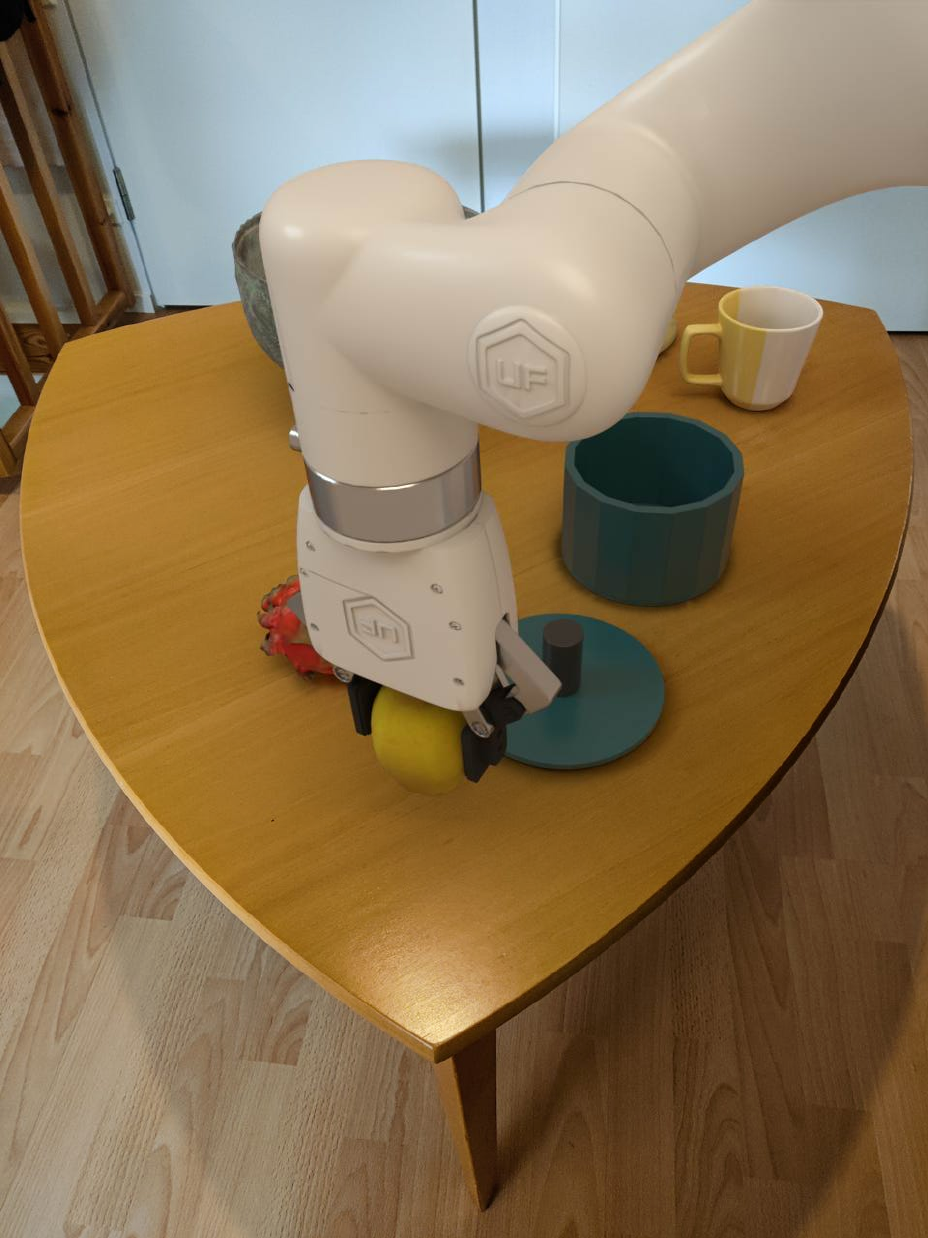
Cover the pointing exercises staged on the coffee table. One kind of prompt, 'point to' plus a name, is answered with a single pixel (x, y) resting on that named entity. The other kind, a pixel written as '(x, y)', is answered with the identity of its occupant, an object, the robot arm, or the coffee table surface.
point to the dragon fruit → (289, 632)
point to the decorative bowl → (262, 285)
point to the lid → (587, 694)
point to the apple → (418, 742)
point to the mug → (758, 344)
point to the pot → (650, 508)
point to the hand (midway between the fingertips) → (429, 738)
